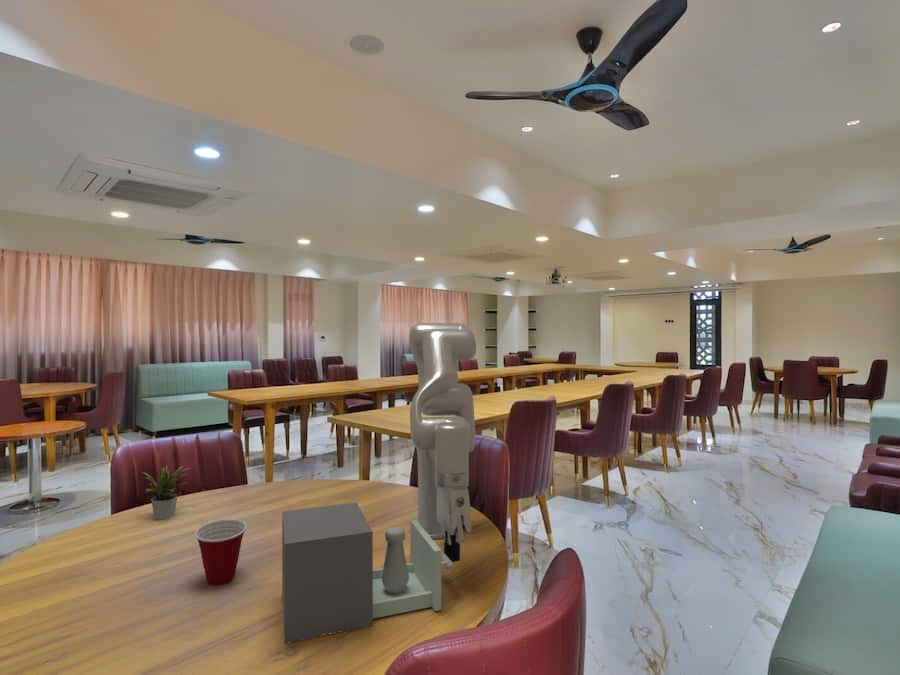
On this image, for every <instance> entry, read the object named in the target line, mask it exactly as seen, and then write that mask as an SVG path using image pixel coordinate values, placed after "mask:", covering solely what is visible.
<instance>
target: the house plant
mask: <svg viewBox="0 0 900 675" xmlns="http://www.w3.org/2000/svg"><path fill="white" fill-rule="evenodd" d="M183 467H184V465H182V466H180V467H178V468H177V469H176V470H175V471H174V473H172V474H170V470H169V466H168V465H167V464H165V466H163V467H160V470H161V475H160V478H159V480H158V483H157V480H155V479H154V477H153V476H152V475H150V474H148V473H146V472H144V471H142V472H141V473H142V474H144V475H146V476H147V477H146V479H147V480H149V481H150V482H151V483H149V486H150V488H145V489H144V490H145V493H146V492H150V493H152V494H153V495H154V497H152V498H151V499H150V501H151V506H152V512H153V517H154V520H155V521H158V520H162V521H166V520H165V519H168V520H170V519H169V518H171V517H173V516H174V517H175V512H176V507H177V501H178V494H175V492H176V491H177V490H178V489H179V488H180V487H181V486H183V485H184V486H186V483H187V484H188V481H186V482H183V483H177V481H178V479H179V478H181V477H182V476H185V475H186V473H184V474H181V473H183V472H184V471H186V470H189V469H191V467H188V468H187V467H186V468H185V469H182V468H183ZM180 474H181V475H180ZM179 475H180V476H179ZM177 486H178V487H177ZM176 487H177V488H176ZM172 492H173V493H172ZM174 517H173V518H174ZM171 519H172V518H171Z"/></svg>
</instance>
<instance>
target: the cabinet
mask: <svg viewBox="0 0 900 675" xmlns="http://www.w3.org/2000/svg"><path fill="white" fill-rule="evenodd" d="M281 515H282V516H281V518H282V519H281V520H282V521H281V522H282V524H281V525H282V526H281V527H282V528H281V531H282V532H281V534H282V535H281V537H282V538H281V539H282V540H281V541H282V542H281V544H282V548H281V549H282V552H281V553H282V554H281V556H282V557H281V559H282V560H281V562H282V563H281V565H282V568H281V570H282V573H281V574H282V576H281V578H282V579H281V582H282V583H281V584H282V588H281V590H282V592H281V593H282V594H281V595H282V596H281V597H282V599H281V600H282V612H283V613H282V615H283V636H284V637H283V638H284V639H285V640H284V644H285V643H287V644H289V643H288V642H292V643H294V642H293V641H296V642H300V641H299V640H301V641H303V640H302V639H306V640H309V639H308V638H311V639H313V638H312V637H316V636H320V635H323V634H329V633H334V632H339V631H345V632H347V631H346V630H349V631H353V630H352V629H354V630H358V629H357V628H359V629H362V628H361V627H364V628H366V627H365V626H369V627H372V626H371V625H373V621H374V619H373V569H374V568H373V566H374V565H373V561H374V560H373V558H374V557H373V549H374V548H373V540H374V539H373V538H374V537H373V536H374V534H373V533H374V532H373V530H372V528H371V527H370V524H369V522H368V521H367V519H366V517H365V515H364V513H363V511H362V510H361V508H360V506H359V504H358V502H350V503H342V504H335V505H326V506H317V507H309V508H300V509H291V510H289V509H288V510H283V511H282V514H281ZM316 638H317V637H316Z"/></svg>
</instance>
